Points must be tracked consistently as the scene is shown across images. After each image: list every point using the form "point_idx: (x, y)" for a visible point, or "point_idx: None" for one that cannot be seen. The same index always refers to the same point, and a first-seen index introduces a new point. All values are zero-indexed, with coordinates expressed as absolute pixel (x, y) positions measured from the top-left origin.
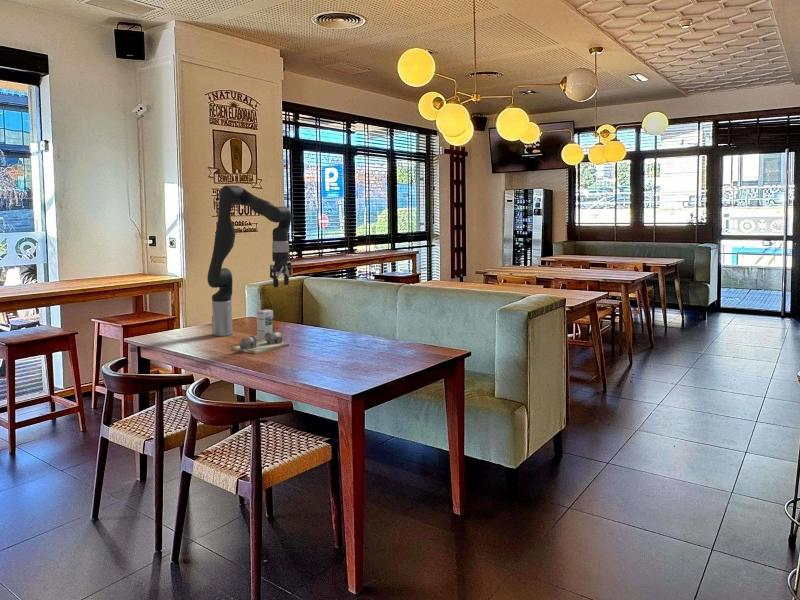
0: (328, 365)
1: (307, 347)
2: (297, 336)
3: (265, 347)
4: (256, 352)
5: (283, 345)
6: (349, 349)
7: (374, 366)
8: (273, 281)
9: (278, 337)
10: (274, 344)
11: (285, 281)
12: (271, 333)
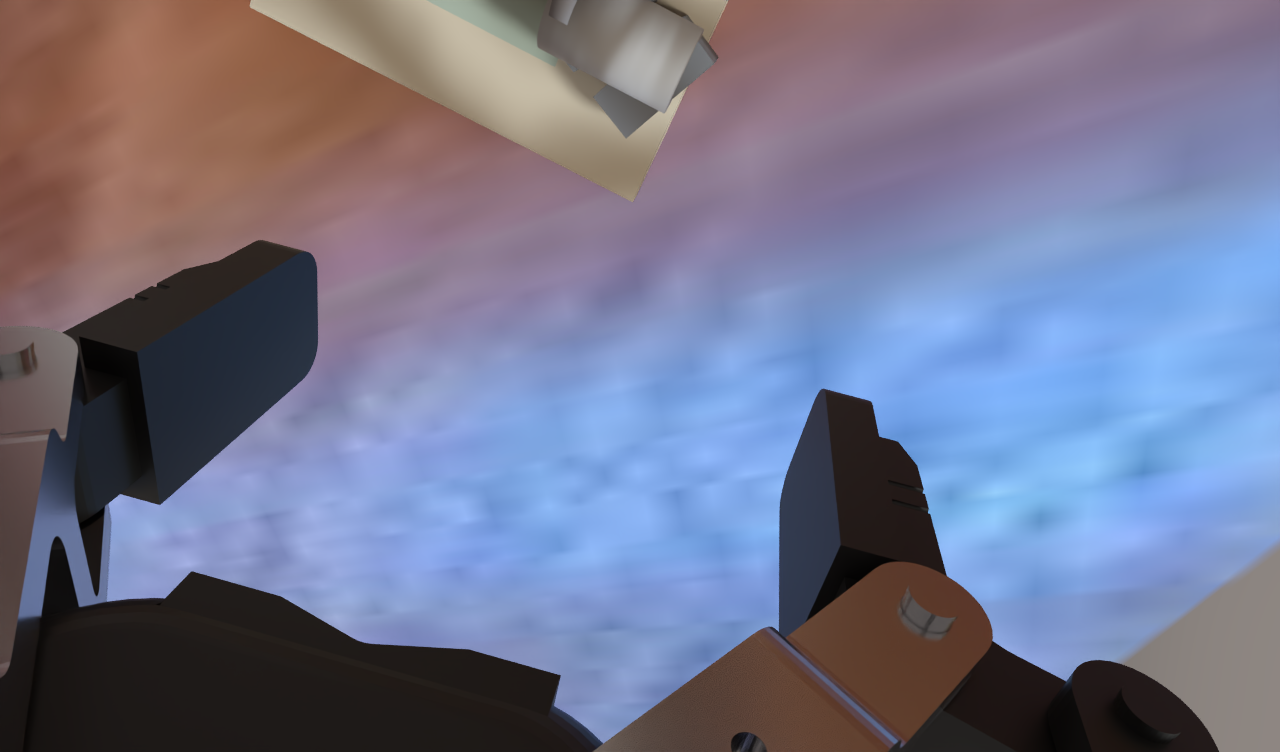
0: (207, 565)
1: (611, 358)
2: (1125, 126)
3: (415, 34)
4: (262, 10)
5: (566, 166)
6: (606, 618)
7: None
8: (94, 325)
9: (601, 106)
10: (557, 73)
11: (811, 492)
12: (581, 26)
